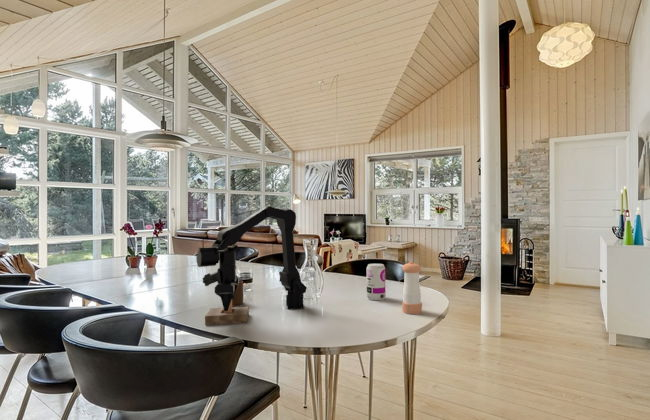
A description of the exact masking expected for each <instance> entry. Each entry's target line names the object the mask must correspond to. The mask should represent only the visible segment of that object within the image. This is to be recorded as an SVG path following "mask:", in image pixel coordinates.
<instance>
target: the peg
mask: <svg viewBox="0 0 650 420" xmlns="http://www.w3.org/2000/svg"><path fill="white" fill-rule="evenodd" d="M232 307H233V306H232V300H231V303H230V306H229V309H228V311H224V313H232Z"/></svg>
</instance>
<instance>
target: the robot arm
mask: <svg viewBox="0 0 650 420" xmlns="http://www.w3.org/2000/svg"><path fill="white" fill-rule="evenodd" d="M268 218H270V219H273V220H275V221H276V224H277V227H278V229H279V231H280V233H281V246H282V259H283V260H282V261H283V268H282V271H279V272H278V275H279V282H280V284H281V286H282V287H284V290H285V291H287V294H286V295H285V303H286V305H285V306H286V307H287V309H288V310H293V309H294V310H295V309H305V306H304V293H305V294H306V292H307V289H308V287H307V286H306V285H305V284H304V283H303V282H302V280H301V275H300V272H299V269H298V268H297V266H296V265H297V264H296V253H295V240H294V238H295V237H294V230H295V226H296V224H297V222H296V221H297V214H296V212H295V211H294V210H293V209H292V208H291V209H286V208H285V209H280V208H277V207H272V206H270V205H266V206H262V207H261V208H260V209H258V210H257V211H255V212H254V213H252V214H251V215H250V216H248V217H246V218H245V219H243V220H242V221H240V222H238V223H237V224H234V225H231V226H228V227H226V228H224V229H221V230H220V231H218V233H217V236H216V237H217V238H216V239H215V241H214V242H213V244H212V245H211V246H209V247H207V246H206V247H203V246H199V247H198V251H197V253H196V265H197V267H198V268H202V267H203V268H205V267H215V266H217V264H218V265H219V267H218V268H217V271H214V272H212V273H210V272H209V273H207V274H204V275H203V277H202V283H203V284H204V286H205V287H209V286H210V285H212V284H214V283H217V284H216V285H215V286H214V294H215V295H216V296H217V297H219V298H220V300H221V304H222V308H224V311H228V309H229V306H230V303H231V300H233V298H234V295H235V292H236V290H237V287H238V283H239V280H240V277H239V276H238V275H237V273H236V272H237V271H236V270H237V265H236V260H237V259H236V255H237V254H236V253H237V252H242V249H241V248H240V247H239V246H238V244H237V243H238V242H239V241H240V240H241V239H242V238H243V236H244V234H246V233H247V232H248V231H250V230H251V229H253V228H254V227H256V226H257V225H259V224H260V223H262V222H263V221H265V220H266V219H268ZM235 282H237V284H235Z"/></svg>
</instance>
